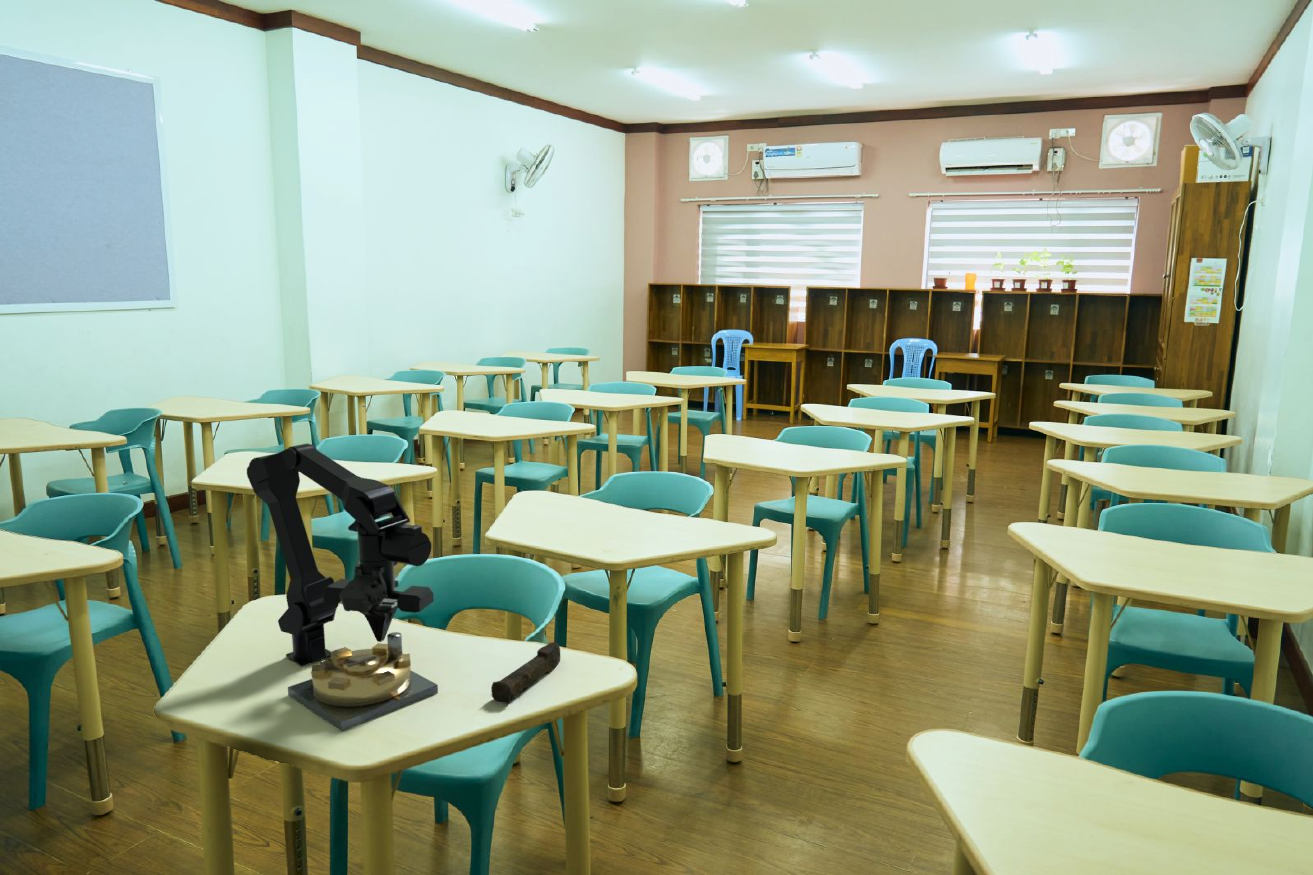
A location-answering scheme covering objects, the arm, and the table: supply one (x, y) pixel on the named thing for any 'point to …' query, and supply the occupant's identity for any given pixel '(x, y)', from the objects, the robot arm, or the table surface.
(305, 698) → the base plate
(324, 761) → the table surface
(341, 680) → the ring nut
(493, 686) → the rough bark branch
